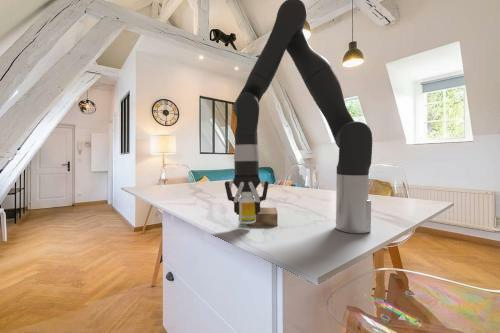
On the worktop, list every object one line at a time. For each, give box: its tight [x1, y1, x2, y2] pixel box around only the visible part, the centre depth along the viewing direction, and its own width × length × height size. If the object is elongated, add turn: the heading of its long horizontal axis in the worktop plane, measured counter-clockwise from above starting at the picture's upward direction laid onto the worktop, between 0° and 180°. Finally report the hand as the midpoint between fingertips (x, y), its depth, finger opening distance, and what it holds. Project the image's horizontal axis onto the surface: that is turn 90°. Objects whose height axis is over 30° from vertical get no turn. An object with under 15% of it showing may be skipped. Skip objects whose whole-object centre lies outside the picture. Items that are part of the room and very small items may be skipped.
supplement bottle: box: [238, 192, 256, 225], centre depth 73 cm, size 5×5×10 cm
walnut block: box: [246, 206, 279, 227], centre depth 82 cm, size 10×10×4 cm
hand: (247, 213), depth 73 cm, fingers closed on supplement bottle, 5 cm apart
